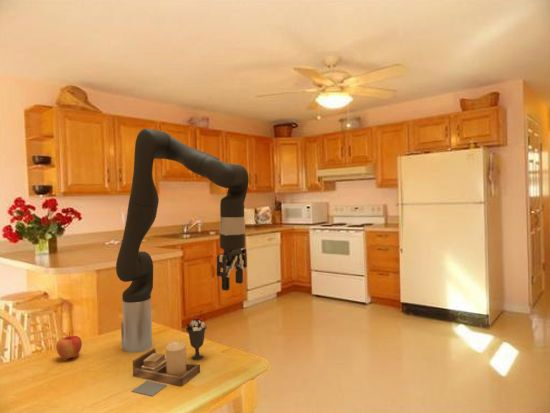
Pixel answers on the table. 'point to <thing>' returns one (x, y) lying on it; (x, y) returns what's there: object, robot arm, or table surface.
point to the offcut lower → (154, 368)
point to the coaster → (149, 388)
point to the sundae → (196, 335)
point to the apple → (69, 347)
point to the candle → (176, 358)
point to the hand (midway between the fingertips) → (232, 286)
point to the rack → (163, 371)
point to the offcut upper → (154, 360)
